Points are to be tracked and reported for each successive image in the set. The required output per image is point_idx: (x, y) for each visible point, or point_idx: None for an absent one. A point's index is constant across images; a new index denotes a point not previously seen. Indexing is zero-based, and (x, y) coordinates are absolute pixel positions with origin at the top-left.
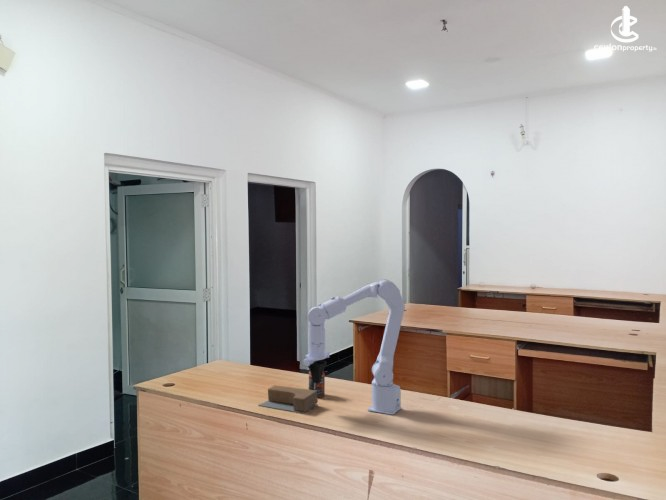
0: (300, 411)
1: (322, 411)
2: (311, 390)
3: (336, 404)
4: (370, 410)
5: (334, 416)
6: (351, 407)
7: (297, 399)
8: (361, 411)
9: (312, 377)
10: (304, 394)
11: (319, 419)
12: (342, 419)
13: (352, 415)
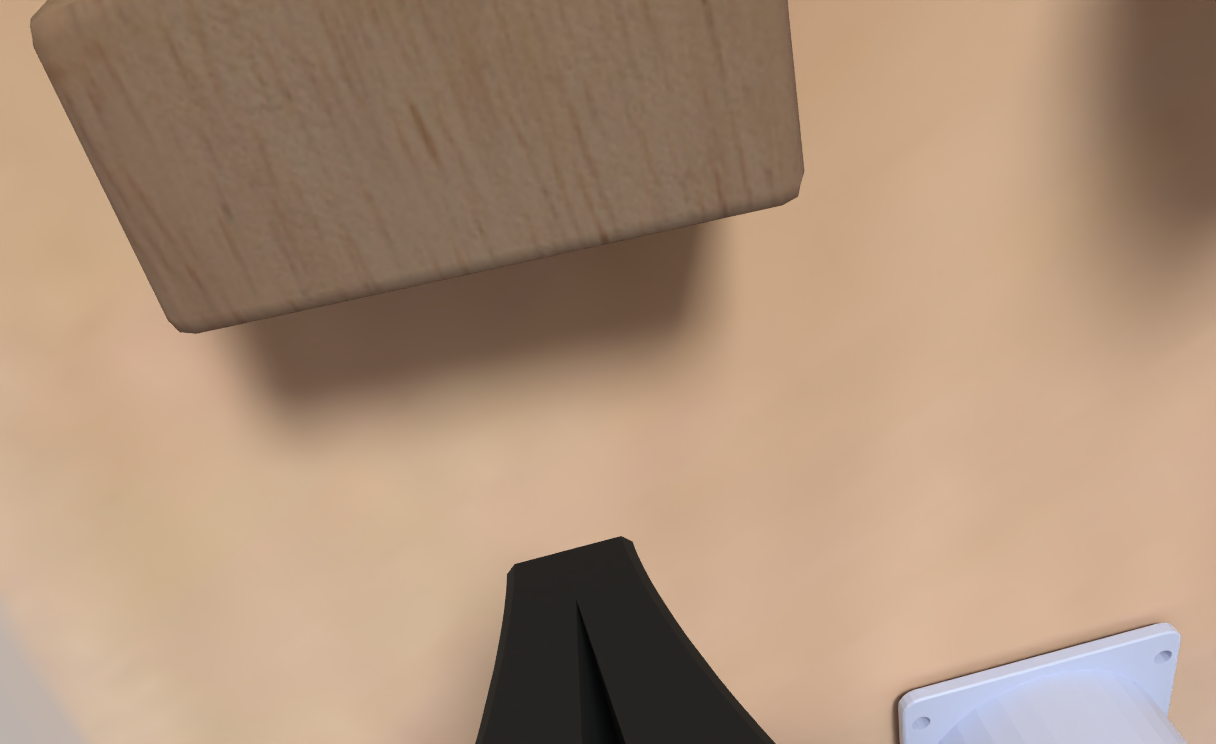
0: None
1: (536, 347)
2: (738, 84)
3: (958, 270)
4: (900, 730)
5: (482, 588)
6: (934, 499)
7: (89, 160)
8: (853, 658)
9: (493, 696)
10: (395, 139)
11: (231, 548)
12: (465, 704)
13: None
